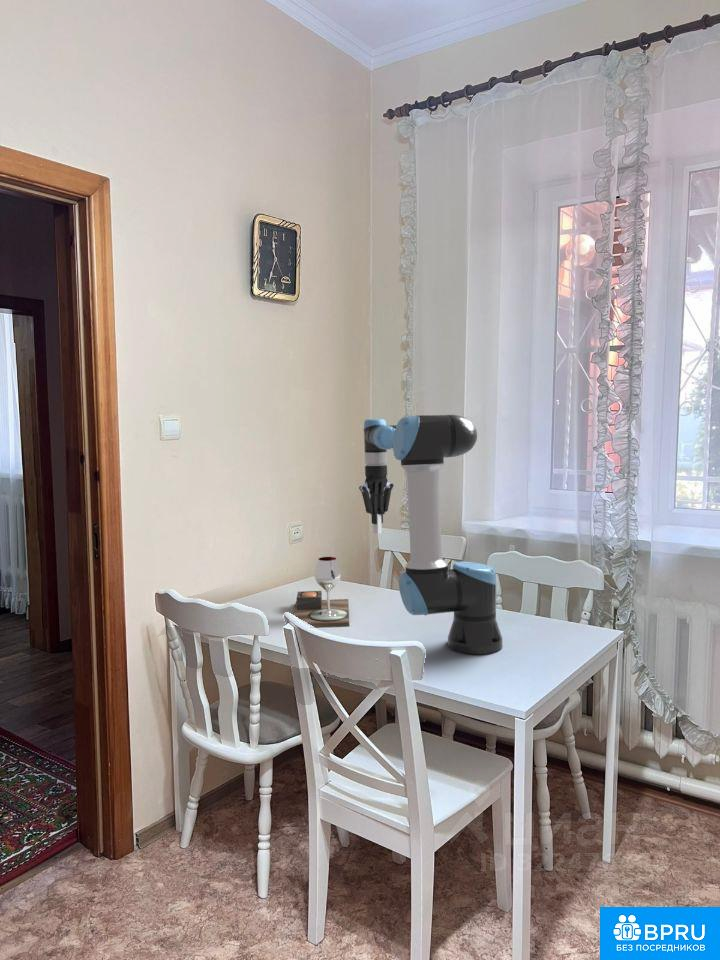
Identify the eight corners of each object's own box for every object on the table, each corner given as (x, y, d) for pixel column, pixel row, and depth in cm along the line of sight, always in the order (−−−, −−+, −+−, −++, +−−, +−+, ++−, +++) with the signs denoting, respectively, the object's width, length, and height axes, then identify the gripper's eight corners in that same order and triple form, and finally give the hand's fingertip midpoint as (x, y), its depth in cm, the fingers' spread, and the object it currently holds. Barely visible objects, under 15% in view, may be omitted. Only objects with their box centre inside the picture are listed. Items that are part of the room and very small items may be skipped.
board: (349, 626, 221) (348, 609, 220) (290, 628, 220) (290, 611, 220) (348, 602, 247) (347, 587, 246) (296, 604, 246) (295, 589, 246)
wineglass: (341, 617, 225) (340, 561, 223) (315, 618, 225) (314, 562, 222) (341, 609, 233) (340, 555, 231) (316, 610, 233) (314, 556, 231)
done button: (316, 605, 237) (316, 595, 236) (301, 605, 237) (301, 596, 236) (317, 600, 242) (316, 591, 241) (302, 601, 242) (302, 592, 241)
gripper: (385, 462, 250) (386, 529, 252) (353, 465, 243) (355, 533, 245) (398, 463, 244) (399, 532, 246) (366, 466, 237) (367, 536, 239)
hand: (377, 533), depth 246 cm, fingers closed
